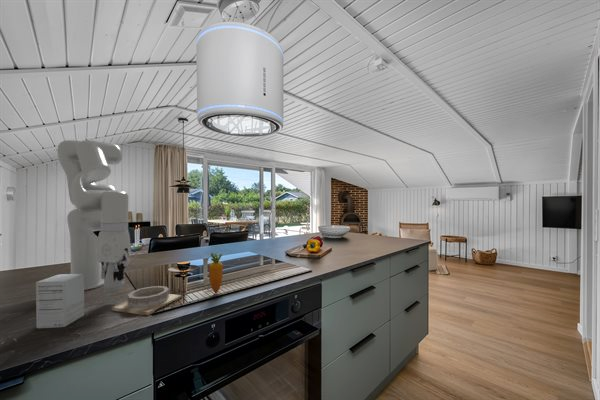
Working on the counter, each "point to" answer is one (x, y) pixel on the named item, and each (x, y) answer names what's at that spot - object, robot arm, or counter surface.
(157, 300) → the ring holder
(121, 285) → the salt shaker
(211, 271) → the carrot
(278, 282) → the counter surface
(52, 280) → the supplement box
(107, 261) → the robot arm
